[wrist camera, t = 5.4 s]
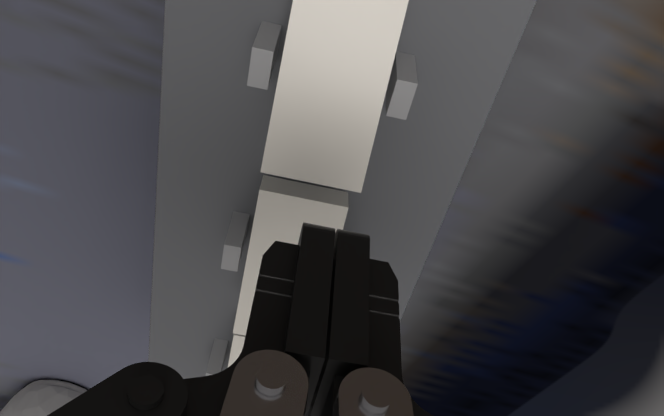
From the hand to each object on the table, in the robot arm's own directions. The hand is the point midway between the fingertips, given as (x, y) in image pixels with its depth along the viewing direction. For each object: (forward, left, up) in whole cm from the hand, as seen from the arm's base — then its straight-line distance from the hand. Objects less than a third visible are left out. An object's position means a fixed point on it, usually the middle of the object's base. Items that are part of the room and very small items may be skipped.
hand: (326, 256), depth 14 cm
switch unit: (+11, 0, -19) cm, 22 cm away
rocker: (+1, 0, -12) cm, 12 cm away
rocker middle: (+11, 0, -12) cm, 17 cm away
